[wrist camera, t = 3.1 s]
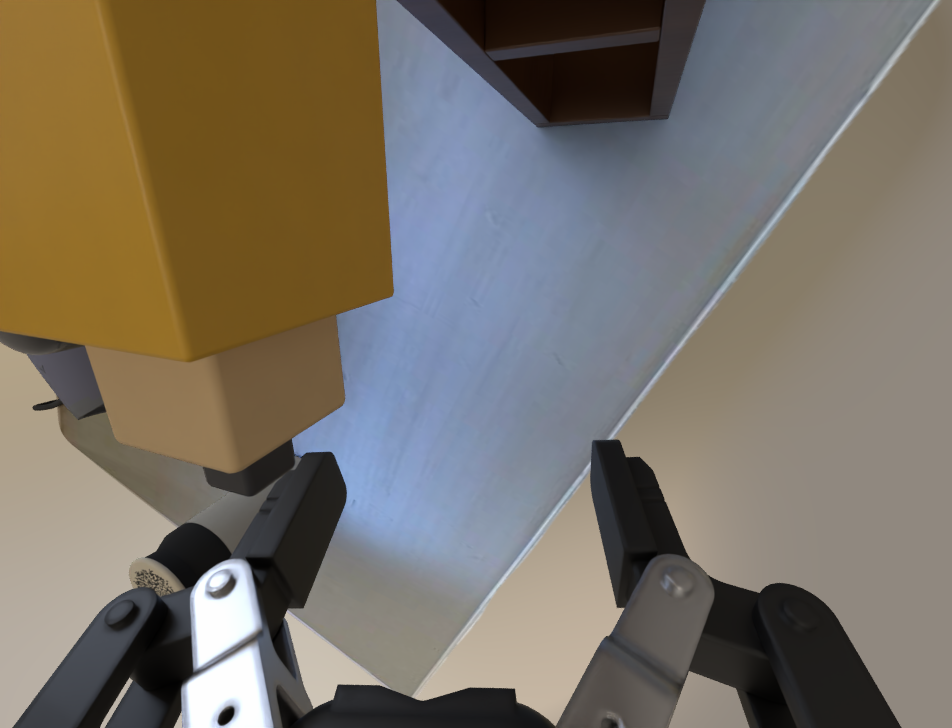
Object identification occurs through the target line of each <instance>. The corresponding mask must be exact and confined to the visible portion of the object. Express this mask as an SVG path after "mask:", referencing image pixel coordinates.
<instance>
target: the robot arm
mask: <svg viewBox="0 0 952 728" xmlns="http://www.w3.org/2000/svg"><path fill="white" fill-rule="evenodd" d="M0 342H1V343H2V344H4V345H6V346H8V347H10V348H11V349H13V350H16V351H19V352H22V353H25V354H30V355H46V354H52V353H58V352H62V351H66V350H71V349H75V348H79V347H83V346H85V345H79V344H73V343H68V342H62V341H56V340H50V339H44V338H38V337H32V336H26V335H20V334H14V333H8V332H2V331H0ZM61 404H63V403H62V401H61V400H60V399H58V400H57V399H56V400H52V401H48V402H44V403H40V404H37V405H34V406H33V409H34V410H47V409H52V408H55V407H57V406H59V405H61ZM590 481H591V492H592V498H593V503H594V507H595V511H596V516H597V521H598V525H599V530H600V534H601V538H602V543H603V547H604V552H605V556H606V560H607V565H608V569H609V574H610V579H611V583H612V587H613V592H614V596H615V601H616V605H617V608H625V609H624V611H623V612H622V615H621V616H620V618H619V620H618V622H617V624H616V626H615V628H614V630H613V631H612V633H611V634H610V635H609V636H606V637H605V638H604V639H603V640H602V642H601V643H600V645H599V647H598V648H597V650H596V652H595V654H594V656H593V658H592V660H591V661H590V663H589V665H588V667H587V669H586V671H585V673H584V675H583V676H582V678H581V680H580V682H579V684H578V686H577V688H576V689H575V692H574V693H573V695H572V697H571V699H570V701H569V703H568V704H567V706H566V708H565V710H564V712H563V714H562V716H561V718H560V720H559V721H558V723H557V725H556V726H554V725H553V724H552V723H551V722H550V721H549V720H548V719H547V718H545V717H544V716H543V715H541V714H540V713H538V712H537V711H535V710H533V709H531V708H530V707H528V706H526V705H523V704H520V703H517V701H516V694H515V689H508V688H507V689H506V688H467V689H464V690H460V691H457V692H453V693H450V694H446V695H443V696H440V697H437V698H433V699H429V700H425V701H420V700H416V699H414V698H411V697H409V696H406V695H404V694H401V693H398V692H396V691H393V690H390V689H388V688H385V687H382V686H380V685H338V686H337V689H336V693H335V696H334V699H333V700H331V701H328V702H326V703H324V704H322V705H320V706H318V707H316V708H314V709H313V706H312V704H311V702H310V699H309V697H308V695H307V693H306V691H305V688H304V685H303V682H302V678H301V674H300V670H299V666H298V662H297V658H296V655H295V650H294V647H293V643H292V639H291V635H290V631H289V627H288V623H287V621H286V619H285V618H284V616H285V614H286V611H287V609H288V608H304V606H305V603H306V601H307V598H308V596H309V593H310V591H311V588H312V586H313V583H314V581H315V578H316V576H317V573H318V571H319V568H320V566H321V563H322V561H323V558H324V556H325V553H326V551H327V548H328V546H329V543H330V541H331V538H332V536H333V533H334V531H335V528H336V526H337V523H338V521H339V518H340V516H341V513H342V511H343V508H344V506H345V503H346V497H347V490H346V485H345V482H344V479H343V477H342V474H341V472H340V469H339V467H338V464H337V461H336V459H335V456H334V455H333V453H332V452H312V453H306V454H304V455H303V457H302V458H301V460H300V462H299V464H298V465H297V467H296V469H295V470H290V471H288V472H287V473H286V474H285V475H284V476H282V477H281V478H280V479H279V480H278V481H277V482H276V483H275V484H274V486H273V488H272V489H271V491H270V493H269V494H268V496H267V499H266V501H264V502H263V504H262V506H261V507H260V509H259V513H257V514H256V516H255V517H254V519H253V521H252V522H251V524H250V525H249V527H248V529H247V530H246V532H245V534H244V535H243V537H242V539H241V540H240V542H239V544H238V545H237V547H236V548H235V550H234V552H233V553H232V555H231V557H230V558H229V560H226V561H223V562H221V563H219V564H217V565H215V566H214V567H212V568H211V569H210V570H208V571H207V572H206V573H205V574H204V575H203V576H202V577H201V578H200V579H199V580H198V582H197V583H196V585H195V586H192V587H189V588H186V589H183V590H180V591H177V592H174V593H170V594H167V595H164V596H161V597H159V595H158V594H157V593H156V592H155V591H154V590H153V589H151V588H149V587H139V588H135V589H132V590H129V591H127V592H125V593H123V594H121V595H120V596H118V597H116V598H115V599H114V600H112V601H111V602H110V603H109V604H107V605H106V606H105V607H104V608H103V609H102V610H101V611H100V612H99V614H98V615H97V616H96V617H95V618H94V620H93V621H92V622H91V624H90V625H89V627H88V628H87V629H86V630H85V632H84V633H83V634H82V636H81V637H80V638H79V640H78V641H77V643H76V644H75V645H74V647H73V648H72V649H71V650H70V652H69V653H68V654H67V656H66V657H65V659H64V660H63V661H62V662H61V664H60V665H59V666H58V668H57V669H56V670H55V672H54V673H53V674H52V676H51V677H50V678H49V680H48V681H47V683H46V684H45V685H44V687H43V688H42V689H41V690H40V692H39V693H38V695H37V696H36V697H35V698H34V700H33V701H32V702H31V704H30V705H29V707H28V708H27V709H26V710H25V712H24V713H23V714H22V716H21V717H20V718H19V720H18V721H17V722H16V724H15V725H14V727H13V728H100V726H101V724H102V722H103V720H104V718H105V716H106V715H107V713H108V712H109V710H110V708H111V707H112V705H113V703H114V702H115V700H116V698H117V697H118V695H119V693H120V692H121V690H122V689H123V687H124V685H125V684H126V682H127V680H128V679H129V677H130V678H131V679H132V680H133V682H132V683H131V685H130V687H129V688H128V690H127V692H126V694H125V695H124V697H123V698H122V700H121V702H120V703H119V705H118V707H117V708H116V710H115V712H114V713H113V715H112V717H111V719H110V720H109V722H108V723H107V725H106V727H105V728H174V726H175V724H176V722H177V720H178V717H179V715H180V713H181V711H182V728H668V727H669V724H670V721H671V718H672V716H673V713H674V710H675V707H676V705H677V702H678V699H679V697H680V694H681V691H682V688H683V686H684V683H685V680H686V677H687V675H688V672H689V671H691V672H694V673H696V674H699V675H702V676H704V677H707V678H710V679H713V680H715V681H718V682H720V683H723V684H726V685H729V686H731V687H734V688H736V689H737V692H738V695H739V698H740V701H741V704H742V707H743V710H744V713H745V715H746V718H747V721H748V724H749V727H750V728H901V726H900V725H899V723H898V721H897V719H896V718H895V716H894V714H893V712H892V711H891V709H890V707H889V706H888V704H887V702H886V701H885V699H884V697H883V695H882V694H881V692H880V691H879V689H878V687H877V685H876V684H875V682H874V680H873V679H872V677H871V675H870V673H869V672H868V670H867V668H866V666H865V665H864V663H863V662H862V660H861V658H860V656H859V655H858V653H857V651H856V649H855V648H854V646H853V644H852V643H851V641H850V640H849V637H848V636H847V634H846V632H845V631H844V629H843V627H842V626H841V624H840V622H839V620H838V619H837V617H836V616H835V614H834V613H833V612H832V611H831V609H830V608H829V607H828V606H827V605H826V604H825V603H824V602H823V601H821V600H820V599H819V598H818V597H816V596H815V595H813V594H812V593H810V592H808V591H806V590H804V589H802V588H800V587H797V586H794V585H790V584H785V583H775V584H770V585H768V586H766V587H765V588H764V589H763V590H762V591H761V592H760V593H757V592H754V591H750V590H747V589H743V588H740V587H736V586H733V585H729V584H726V583H723V582H720V581H718V580H716V579H714V578H712V577H710V576H709V575H707V574H706V572H705V571H704V570H703V569H702V568H701V567H700V566H699V565H697V564H696V563H694V562H693V561H692V560H691V559H690V558H689V556H688V554H687V553H686V550H685V548H684V546H683V543H682V541H681V538H680V536H679V533H678V531H677V528H676V526H675V524H674V521H673V519H672V516H671V514H670V511H669V509H668V506H667V504H666V502H665V501H664V497H663V494H662V492H661V489H659V484H658V482H657V479H656V477H655V474H654V472H653V470H652V469H651V468H650V467H649V466H648V465H647V464H646V463H645V462H644V461H643V460H642V459H641V458H640V457H626V456H625V454H624V451H623V448H622V445H621V442H620V441H619V440H594V441H593V442H592V455H591V474H590Z"/></svg>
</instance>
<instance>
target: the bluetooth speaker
mask: <svg viewBox="0 0 952 728" xmlns="http://www.w3.org/2000/svg"><path fill="white" fill-rule="evenodd" d="M27 355H28V357H29V358H30V360H31V361H32V363H33V364H34V365H35V367H36V368H37V370H38V371H39V372H40V374H41V375H42V376H43V378H44V379H45V380H46V382H47V383H48V384H49V386H50V387H51V388H52V389H53V391H54V392H55V393H56V395H57V396H58V397H59V399H60V400H61V401H62V403H63V404H64V405H65V406H66V407H67V408H68V410H69V411H70V412H71V413H72V414H73V415H74V416H75V417H76V418H77V419H78V420H80V419H82V418H85V417H89V416H92V415H96V414H100V413H105V412H107V411H106V408H105V405H104V402H103V399H102V396H101V393H100V390H99V387H98V384H97V381H96V378H95V375H94V372H93V369H92V366H91V363H90V360H89V357H88V354H87V351H86V347H85V346H83V347H79V348H75V349H71V350H66V351H62V352H58V353H52V354H46V355H30V354H27Z"/></svg>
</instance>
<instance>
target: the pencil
mask: <svg viewBox="0 0 952 728" xmlns="http://www.w3.org/2000/svg"><path fill="white" fill-rule="evenodd" d="M393 293H394V287H393V271H392V254H391V238H390V222H389V206H388V189H387V173H386V157H385V141H384V124H383V108H382V92H381V75H380V59H379V43H378V27H377V10H376V0H0V331H2V332H8V333H14V334H20V335H26V336H32V337H38V338H44V339H50V340H56V341H62V342H68V343H73V344H79V345H85V347H86V351H87V354H88V357H89V360H90V363H91V366H92V369H93V372H94V375H95V378H96V381H97V384H98V387H99V390H100V393H101V396H102V399H103V402H104V405H105V408H106V411H107V414H108V417H109V420H110V423H111V426H112V430H113V433H114V436H115V438H116V439H117V440H118V441H119V442H120V443H121V444H124V445H127V446H131V447H135V448H138V449H142V450H146V451H149V452H153V453H156V454H160V455H164V456H167V457H171V458H174V459H178V460H182V461H185V462H189V463H193V464H196V465H200V466H203V469H204V473H205V477H206V481H207V482H208V484H209V485H211V486H213V487H216V488H219V489H223V490H226V491H229V492H233V493H236V494H240V495H243V496H246V497H252V496H255V495H257V494H258V493H260V492H261V491H262V490H264V489H265V488H266V487H268V486H269V485H271V484H272V483H273V482H275V481H276V480H277V479H279V478H280V477H281V476H283V475H284V474H286V473H287V472H288V471H290V470H291V469H292V468H293V467H294V466H295V462H296V461H295V455H294V449H293V443H292V438H293V437H295V436H296V435H298V434H299V433H301V432H302V431H304V430H306V429H307V428H309V427H310V426H312V425H313V424H315V423H316V422H318V421H320V420H321V419H323V418H324V417H326V416H327V415H329V414H330V413H332V412H334V411H335V410H337V409H338V408H340V407H341V406H343V404H344V402H345V391H344V382H343V373H342V364H341V355H340V346H339V337H338V328H337V319H336V315H337V314H340V313H343V312H346V311H349V310H352V309H355V308H359V307H362V306H365V305H368V304H371V303H374V302H377V301H380V300H383V299H386V298H389V297H392V296H393Z"/></svg>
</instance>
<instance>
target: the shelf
mask: <svg viewBox="0 0 952 728" xmlns="http://www.w3.org/2000/svg"><path fill="white" fill-rule="evenodd" d="M397 1H398V2H399V3H400V4H401V5H402V6H403V7H404V8H405V9H407V10H408V11H409V12H410V13H411V14H412V15H413V16H414V17H415V18H417V19H418V20H419V21H420V22H421V23H422V24H423V25H424V26H425V27H427V28H428V29H429V30H430V31H431V32H432V33H433V34H434V35H435V36H437V37H438V38H439V39H440V40H441V41H442V42H443V43H444V44H445V45H447V46H448V47H449V48H450V49H451V50H452V51H453V52H454V53H455V54H457V55H458V56H459V57H460V58H461V59H462V60H463V61H464V62H465V63H467V64H468V65H469V66H470V67H471V68H472V69H473V70H474V71H475V72H477V73H478V74H479V75H480V76H481V77H482V78H483V79H484V80H485V81H487V82H488V83H489V84H490V85H491V86H492V87H493V88H494V89H495V90H497V91H498V92H499V93H500V94H501V95H502V96H503V97H504V98H505V99H507V100H508V101H509V102H510V103H511V104H512V105H513V106H514V107H515V108H517V109H518V110H519V111H520V112H521V113H522V114H523V115H524V116H525V117H527V118H528V119H529V120H530V121H531V122H532V123H533V124H534V125H536V126H537V127H547V126H563V125H579V124H594V123H610V122H626V121H641V120H657V119H668V117H669V114H670V111H671V107H672V104H673V101H674V98H675V95H676V92H677V89H678V86H679V83H680V80H681V76H682V73H683V70H684V67H685V64H686V61H687V58H688V55H689V52H690V48H691V45H692V42H693V39H694V36H695V33H696V30H697V27H698V24H699V21H700V17H701V14H702V11H703V8H704V5H705V2H706V0H397Z"/></svg>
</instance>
